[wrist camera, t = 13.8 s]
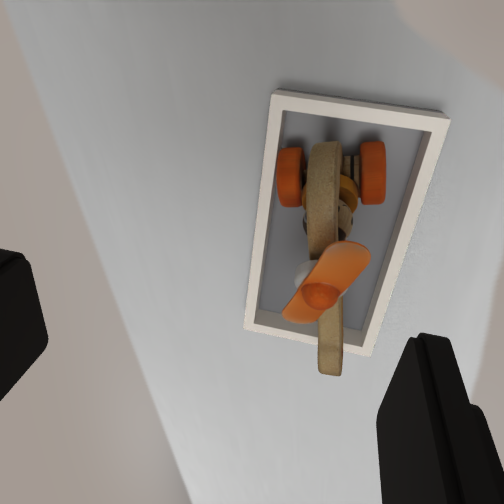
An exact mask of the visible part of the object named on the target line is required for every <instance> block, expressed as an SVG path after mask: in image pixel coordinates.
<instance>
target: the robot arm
mask: <svg viewBox="0 0 504 504" xmlns="http://www.w3.org/2000/svg"><path fill="white" fill-rule="evenodd" d="M47 343H48V334H47V330H46V326H45V322H44V318H43V313H42V309H41V305H40V302H39V297H38V293H37V290H36V285H35V281H34V278H33V273H32V269H31V265H30V263H29V262H28V261H27V260H26V259H25V256H24V255H23V254H22V253H19V252H14V251H9V250H4V249H0V401H1V400H2V399H3V398H4V396H5V395H6V394H7V393H8V392H9V391H10V389H11V388H12V387H13V386H14V385H15V384H16V383H17V381H18V380H19V379H20V378H21V376H23V374H24V373H25V372H26V371H27V370H28V369H29V368H30V366H31V365H32V364H33V363H34V362H35V361H36V359H37V358H38V357H39V356H40V355H41V354H42V352H43V351H44V350H45V348H46V346H47ZM376 428H377V441H378V454H379V467H380V480H381V493H382V504H504V471H503V468H502V465H501V462H500V459H499V456H498V453H497V450H496V448H495V444H494V441H493V439H492V436H491V433H490V430H489V427H488V424H487V421H486V418H485V416H484V414H483V411H482V410H481V409H480V408H479V407H478V406H476V405H473V404H470V402H469V399H468V396H467V392H466V389H465V386H464V383H463V380H462V377H461V373H460V370H459V367H458V364H457V361H456V358H455V354H454V351H453V348H452V345H451V342H450V340H449V339H448V338H447V337H442V336H437V335H432V334H426V333H420V334H419V335H418V336H417V338H413V337H410V338H409V339H408V341H407V344H406V346H405V348H404V351H403V353H402V356H401V358H400V360H399V363H398V365H397V367H396V370H395V372H394V375H393V377H392V379H391V382H390V384H389V386H388V389H387V391H386V394H385V396H384V398H383V401H382V403H381V406H380V408H379V410H378V414H377V421H376Z"/></svg>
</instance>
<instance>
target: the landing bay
mask: <svg viewBox="0 0 504 504" xmlns="http://www.w3.org/2000/svg"><path fill="white" fill-rule="evenodd" d="M450 122H451V119H450V118H449V117H448V116H447V115H445V114H444V113H443V112H442V111H437V110H430V109H422V108H415V107H408V106H401V105H394V104H387V103H380V102H373V101H366V100H359V99H351V98H344V97H337V96H330V95H323V94H316V93H309V92H302V91H295V90H287V89H280V88H278V89H277V90H276V91H274V92H273V93H272V94H271V102H270V110H269V118H268V127H267V135H266V143H265V152H264V160H263V168H262V177H261V185H260V193H259V202H258V210H257V218H256V227H255V235H254V243H253V252H252V260H251V268H250V277H249V285H248V293H247V302H246V310H245V318H244V327H243V329H246V330H250V331H255V332H260V333H264V334H269V335H273V336H278V337H282V338H287V339H291V340H296V341H300V342H305V343H309V344H314V345H318V321H317V320H316V321H315V322H313V323H307V324H298V323H293V322H289V321H287V320H285V319H284V318H283V316H282V310H283V309H284V307H285V306H286V305H287V304H288V302H289V301H290V300H291V299H292V297H293V296H294V294H295V293H296V292H297V288H296V286H295V283H294V278H295V271H296V268H297V267H298V265H300V264H301V263H303V262H306V261H310V259H309V249H308V238H307V235H306V233H305V231H304V228H303V216H304V213H305V210H304V208H303V206H300V207H284V206H282V205H281V203H280V201H279V198H278V192H277V181H276V172H277V159H278V154H279V152H280V150H281V149H283V148H289V147H300V148H302V149H303V151H304V155H305V162H306V170H308V162H309V156H310V152H311V149H312V147H313V146H314V145H315V144H316V143H321V142H331V141H339V142H340V143H341V145H342V151H343V156H344V157H345V156H351V155H354V156H357V155H359V154H360V145H361V144H362V143H363V142H373V141H382V142H384V144H385V149H386V196H385V200H384V202H383V203H382V204H379V205H363V204H362V203H361V198H358V205H357V208H356V210H355V211H354V213H353V214H352V215H353V227H352V230H351V232H350V234H349V236H348V237H347V241H353V242H357V243H360V244H362V245H364V246H365V247H366V248H367V249H368V250H369V252H370V254H371V260H370V262H369V264H368V265H367V266H366V268H365V269H364V270H363V271H362V272H361V274H360V275H359V276H358V277H357V278H356V279H355V281H354V282H353V283H352V284H351V285H350V286H349V287H348V290H347V291H346V293H345V294H344V295H343V330H344V337H343V351H345V352H350V353H355V354H359V355H364V356H368V357H370V356H371V353H372V350H373V347H374V345H375V342H376V339H377V336H378V333H379V330H380V327H381V324H382V321H383V318H384V315H385V312H386V309H387V307H388V304H389V301H390V298H391V295H392V292H393V289H394V286H395V283H396V280H397V277H398V274H399V271H400V269H401V266H402V263H403V260H404V257H405V254H406V251H407V248H408V245H409V242H410V239H411V236H412V233H413V231H414V228H415V225H416V222H417V219H418V216H419V213H420V210H421V207H422V204H423V201H424V198H425V195H426V193H427V190H428V187H429V184H430V181H431V178H432V175H433V172H434V169H435V166H436V163H437V160H438V157H439V155H440V152H441V149H442V146H443V143H444V140H445V137H446V134H447V131H448V128H449V125H450ZM306 183H307V182H306Z"/></svg>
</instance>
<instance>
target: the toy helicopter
mask: <svg viewBox="0 0 504 504" xmlns="http://www.w3.org/2000/svg"><path fill="white" fill-rule="evenodd" d="M276 181H277V192H278V198H279V201H280V203H281V205H282V206H284V207H300V206H303V208H304V210H305V213H304V216H303V228H304V231H305V233H306V235H307V238H308V249H309V259H310V261H306V262H303V263H301V264H300V265H298V267H297V268H296V271H295V278H294V283H295V286H296V288H297V292H296V293H295V294H294V296H293V297H292V299H291V300H290V301H289V302H288V304H287V305H286V306H285V307H284V309H283V310H282V316H283V318H284V319H285V320H287V321H289V322H293V323H298V324H307V323H313V322H315V321H316V320H317V321H318V370H319V372H320V373H321V374H326V375H333V376H340V375H341V372H342V362H343V337H344V330H343V295H344V294H345V293H346V291H347V290H348V287H349V286H350V285H351V284H352V283H353V282H354V281H355V279H356V278H357V277H358V276H359V275H360V274H361V272H362V271H363V270H364V269H365V268H366V266H367V265H368V264H369V262H370V260H371V254H370V252H369V250H368V249H367V248H366V247H365V246H364V245H362V244H360V243H357V242H353V241H347V237H348V236H349V234H350V232H351V230H352V227H353V215H352V214H353V213H354V211H355V210H356V208H357V205H358V198H361V203H362V204H363V205H379V204H382V203H383V202H384V200H385V196H386V149H385V144H384V142H382V141H373V142H363V143H362V144H361V145H360V154H359V155H357V156H354V155H351V156H345V157H344V156H343V151H342V145H341V143H340V142H339V141H331V142H321V143H316V144H315V145H314V146H313V147H312V149H311V152H310V156H309V162H308V170H306V162H305V155H304V151H303V149H302V148H300V147H289V148H283V149H281V150H280V152H279V154H278V159H277V172H276ZM306 182H307V183H306Z"/></svg>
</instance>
